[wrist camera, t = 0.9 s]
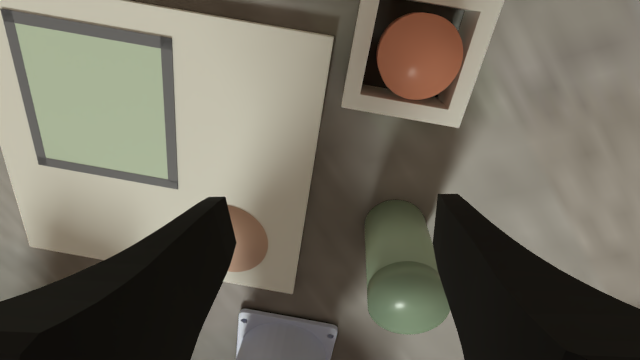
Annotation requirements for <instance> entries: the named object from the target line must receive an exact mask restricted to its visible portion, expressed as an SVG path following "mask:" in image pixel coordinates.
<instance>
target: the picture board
mask: <svg viewBox="0 0 640 360" xmlns="http://www.w3.org/2000/svg"><path fill="white" fill-rule="evenodd" d="M333 41H334V36H331V35H325V34H320V33H314V32H308V31H302V30H297V29H291V28H285V27H279V26H274V25H268V24H262V23H256V22H251V21H245V20H239V19H233V18H228V17H222V16H216V15H210V14H205V13H199V12H193V11H187V10H182V9H176V8H170V7H164V6H159V5H153V4H147V3H141V2H136V1H130V0H0V146H1V150H2V153H3V156H4V160H5V163H6V167H7V170H8V173H9V177H10V180H11V184H12V187H13V190H14V194H15V197H16V201H17V204H18V208H19V211H20V214H21V218H22V221H23V225H24V228H25V231H26V235H27V238H28V242H29V245H30V247H34V248H39V249H45V250H51V251H56V252H62V253H67V254H73V255H78V256H84V257H89V258H95V259H100V260H106V259H108V258H110V257H112V256H114V255H116V254H118V253H119V252H121V251H123V250H125V249H127V248H129V247H130V246H132V245H134V244H136V243H137V242H139V241H140V240H142V239H144V238H145V237H147V236H148V235H150V234H152V233H153V232H155V231H157V230H158V229H160V228H161V227H163V226H164V225H166V224H167V223H169V222H170V221H172V220H173V219H175V218H176V217H178V216H179V215H181V214H182V213H184V212H185V211H187V210H188V209H190V208H191V207H193V206H194V205H196V204H197V203H199V202H201V201H202V200H204V199H206V198H208V197H226V201H227V205H228V210H229V214H230V218H231V222H232V226H233V230H234V234H235V238H236V242H237V243H236V247H235V250H234V254H233V257H232V260H231V264H230V267H229V269H228V272H227V274H226V276H225V278H224V280H223V282H227V283H233V284H238V285H244V286H249V287H255V288H260V289H266V290H271V291H277V292H282V293H288V294H293V290H294V285H295V279H296V273H297V266H298V260H299V254H300V248H301V241H302V235H303V229H304V223H305V216H306V210H307V204H308V198H309V191H310V185H311V179H312V173H313V166H314V160H315V154H316V148H317V141H318V135H319V129H320V123H321V116H322V110H323V104H324V98H325V91H326V85H327V79H328V73H329V66H330V60H331V54H332V48H333Z"/></svg>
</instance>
